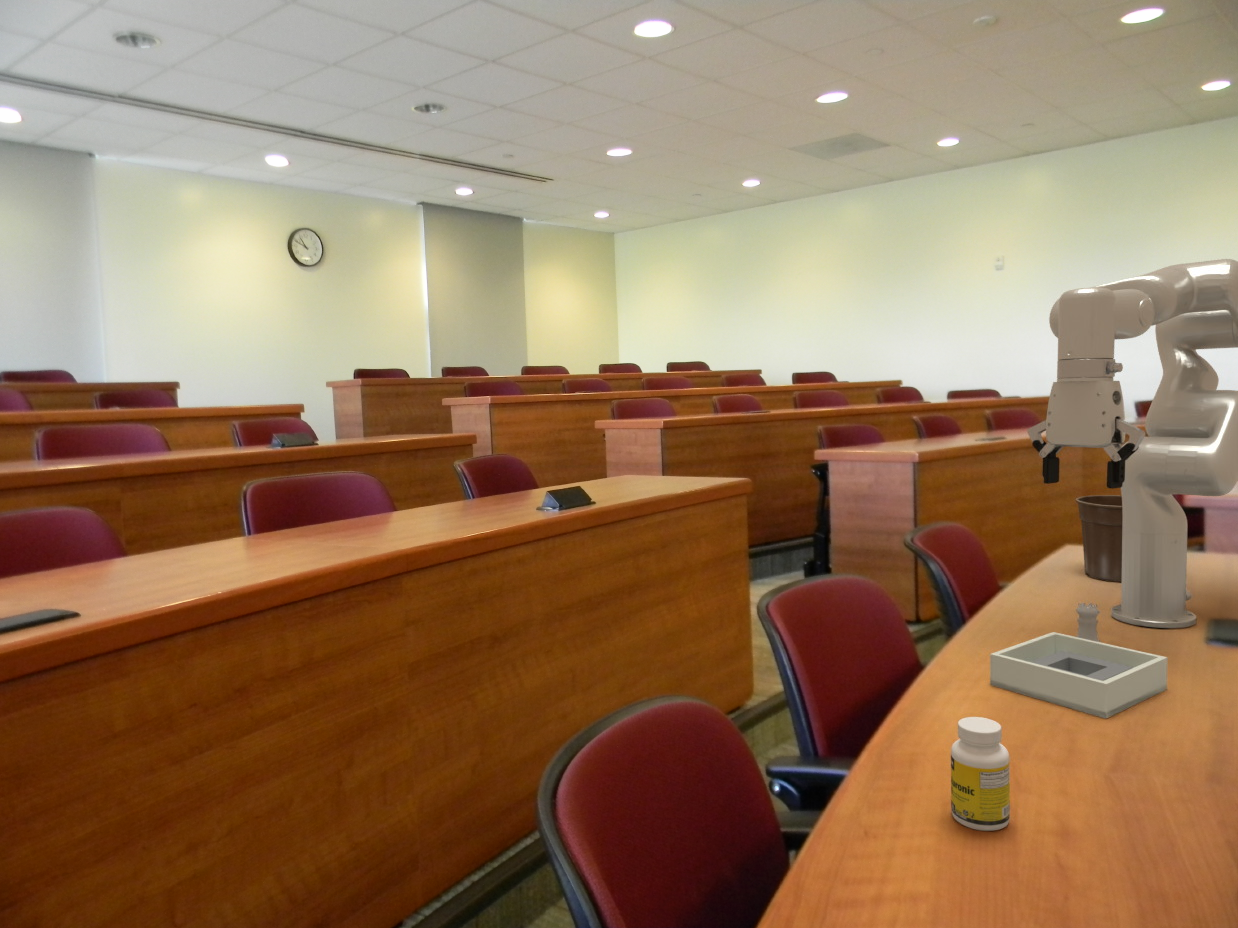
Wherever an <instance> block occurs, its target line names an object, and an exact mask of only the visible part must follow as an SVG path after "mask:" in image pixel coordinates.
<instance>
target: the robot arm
mask: <svg viewBox="0 0 1238 928" xmlns="http://www.w3.org/2000/svg"><path fill="white" fill-rule="evenodd" d="M1048 320H1049V327H1050V330H1051V332H1052V334H1053V335H1054V336H1055V337H1056V338H1057V361H1056V362H1057V363H1056V364H1057V366H1056V367H1057V368H1056V369H1057V370H1056V381H1053V382H1052V385H1051V388H1050V389H1051V390H1050V393H1049V398H1048V402H1047V403H1048V404H1047V410H1046V411H1047V413H1046V419H1045V420H1043V421H1041V422H1040V423H1037V424H1035V425H1033V426H1031V427H1029V428H1028V429H1027V431H1026V432H1027V434H1028V437H1029V439H1030V442H1032V443H1031V444H1032V447H1033V448H1034V449H1035V450H1036V451H1037V452H1038V455H1039V458H1040V457H1041V459H1042V477H1043V483H1044V484H1057V483H1058V482H1060V461H1061V460H1060V457H1059V456H1057V454H1058V453H1059V452H1060V451H1061V450H1062V449H1063V448H1065V447H1068V448H1069V447H1070V448H1090V449H1092V448H1093V449H1094V448H1099V449H1100V448H1102V449H1103V450H1104V452H1105V454H1107V455H1108V456H1109V457H1110V460H1109V461H1107V463H1106V464H1107V465H1106V468H1107V469H1106V488H1108V489H1112V490H1113V489H1119V488H1120V494H1121V495H1122V513H1123V522H1122V582H1121V589H1120V590H1121V594H1120V595H1121V597H1120V598H1121V602H1120V603H1121V604H1116V605H1114V606H1112V607H1111V609H1110V615H1111V616H1112V617H1113V618H1114V619H1116V620H1117V621H1120V622H1123V623H1126V624H1131V625H1134V626H1139V627H1140V626H1141V627H1147V628H1159V629H1180V628H1181V629H1182V628H1188V627H1191V626H1194V625H1196V623H1197V615H1196V614H1195V613H1194V612H1192V611H1189V610H1188V609H1187V607H1186V606H1187V605H1186V603H1187V601H1189V600H1191V599H1192V596H1193V595H1192V592H1191V591H1190V590H1188V589H1187V562H1188V561H1187V559H1188V557H1187V556H1188V519H1187V516H1186V512H1185V511H1184V509H1183V508H1182V506H1181V505H1180V503H1179V502H1178V501H1177V499H1176V498H1175V497H1174V495H1183V496H1185V495H1186V496H1198V497H1199V496H1200V497H1221V496H1222V497H1223V496H1225V495H1228V494H1229V493H1231V492H1232V491H1233V489H1234V488H1235V486H1236V485H1237V482H1238V390H1236V389H1233V390H1232V389H1217V388H1218V386H1219V379H1220V378H1219V376H1218V375H1219V374H1218V373H1217V372H1216V370H1215V368H1213V366H1212V365H1211V364H1210V363H1209V362H1208V361H1207V360H1206V359H1205V358H1204V357H1202V356H1201V355H1200V354H1199V353H1198V352H1197V350H1213V349H1216V350H1217V349H1233V348H1235V349H1236V348H1238V260H1235V259H1233V258H1232V259H1231V258H1220V259H1214V260H1205V261H1204V260H1203V261H1196V262H1195V261H1194V262H1188V263H1187V262H1186V263H1179V264H1173V265H1168V266H1164V267H1162V268H1159V269H1156V270H1153V271H1151V272H1148V273H1144V274H1142V275H1138V276H1137V275H1136V276H1133V277H1128V278H1124V279H1120V280H1116V281H1113V282H1109V283H1105V284H1100V285H1096V286H1091V287H1084V288H1075V289H1069V290H1066V291H1065V292H1063V293H1062V294H1061V295H1060V297H1059V298H1058V299H1057V300H1056V301H1055V302H1054V303H1053V305H1052V307H1051V309H1050V312H1049V318H1048ZM1152 326H1155V339H1156V344H1157V351H1158V355H1159V360H1160V363H1161V367H1162V377H1161V380H1160V383H1159V385H1158V388H1157V390H1156V392H1155V394H1154V396H1153V398H1152V401H1151V404H1150V407H1149V409H1148V411H1147V413H1146V417H1145V421H1144V428H1145V430H1143V429H1141V428H1139V427H1137V426H1135V425H1133V424H1132V423H1129V422H1128V421H1126V416H1125V415H1126V414H1125V405H1124V397H1123V396H1124V395H1123V391H1122V386H1121V382H1120V380H1114V378H1115V374H1117V373H1121V372H1122V371H1123V367H1124V366H1123V364H1122V363H1121V362H1116V359H1115V342H1116V341H1115V340H1127V339H1133V338H1137V337H1139V336H1141V335H1142V336H1143V334H1145V333H1146V332H1148V330H1149V329H1151V327H1152ZM1043 433H1045V438H1046V439H1045V440H1046V441H1047V442H1046V441H1045V440H1044V439H1043V436H1042V434H1043ZM1146 434H1147V436H1146ZM1126 435H1128V437H1129V438H1128V441H1126V442H1125V440H1126Z"/></svg>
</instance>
